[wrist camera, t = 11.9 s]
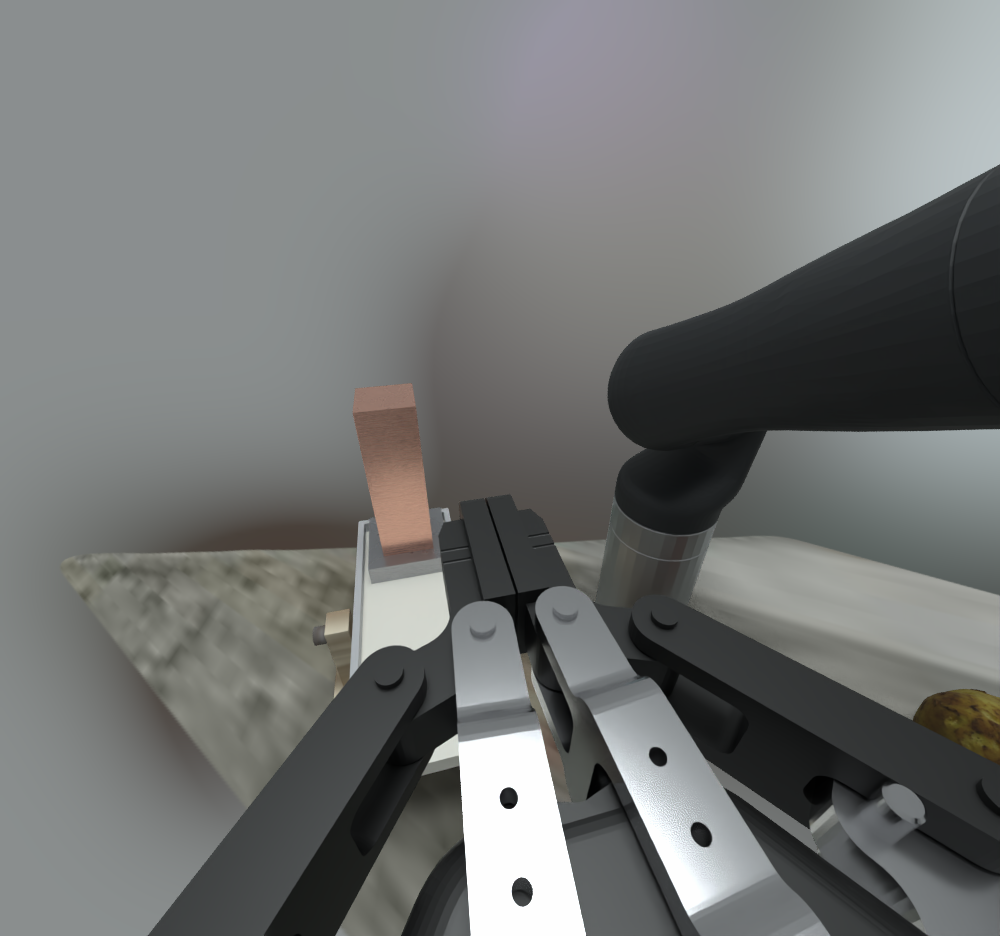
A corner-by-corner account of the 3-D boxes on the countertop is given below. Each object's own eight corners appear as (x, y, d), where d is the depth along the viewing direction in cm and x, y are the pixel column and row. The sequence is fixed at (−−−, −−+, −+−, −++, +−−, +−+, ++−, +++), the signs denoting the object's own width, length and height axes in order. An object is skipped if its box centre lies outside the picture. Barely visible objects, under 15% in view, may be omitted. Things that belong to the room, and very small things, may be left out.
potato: (1103, 840, 33) (1196, 797, 29) (914, 806, 35) (974, 761, 31) (1016, 727, 40) (1080, 679, 36) (861, 704, 42) (904, 655, 37)
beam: (496, 756, 32) (496, 737, 30) (352, 793, 30) (343, 775, 28) (449, 526, 53) (448, 508, 51) (363, 539, 51) (358, 521, 49)
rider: (451, 569, 45) (435, 412, 35) (371, 584, 43) (331, 423, 33) (442, 520, 51) (426, 375, 41) (372, 531, 50) (339, 383, 40)
